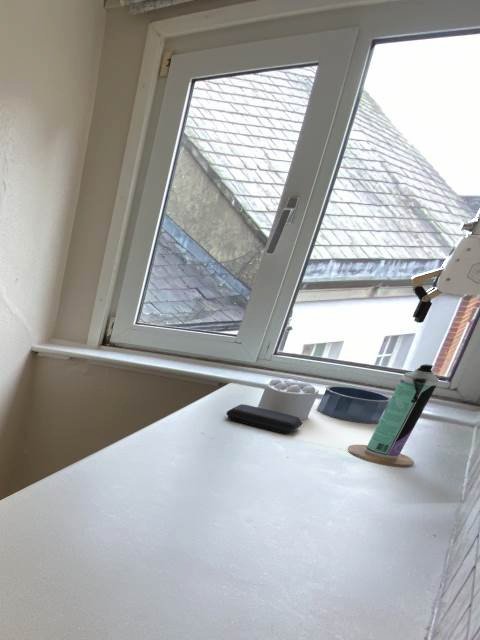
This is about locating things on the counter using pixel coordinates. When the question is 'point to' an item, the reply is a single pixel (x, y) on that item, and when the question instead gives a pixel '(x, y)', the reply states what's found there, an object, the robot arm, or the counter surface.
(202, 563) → the counter surface
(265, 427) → the carrying case
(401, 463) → the coaster
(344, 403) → the bowl
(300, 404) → the white pebble pot
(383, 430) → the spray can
